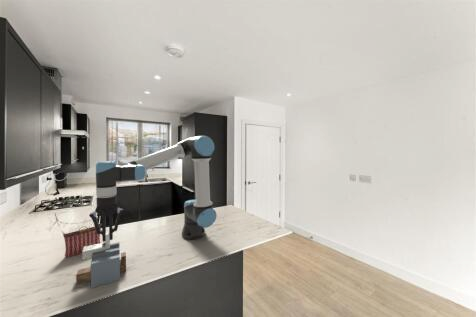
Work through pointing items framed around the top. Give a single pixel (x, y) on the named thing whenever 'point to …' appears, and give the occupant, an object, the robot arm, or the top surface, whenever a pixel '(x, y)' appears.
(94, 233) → the handbag
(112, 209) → the robot arm
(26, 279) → the top surface
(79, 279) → the wooden bar
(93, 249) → the keeper
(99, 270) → the block
